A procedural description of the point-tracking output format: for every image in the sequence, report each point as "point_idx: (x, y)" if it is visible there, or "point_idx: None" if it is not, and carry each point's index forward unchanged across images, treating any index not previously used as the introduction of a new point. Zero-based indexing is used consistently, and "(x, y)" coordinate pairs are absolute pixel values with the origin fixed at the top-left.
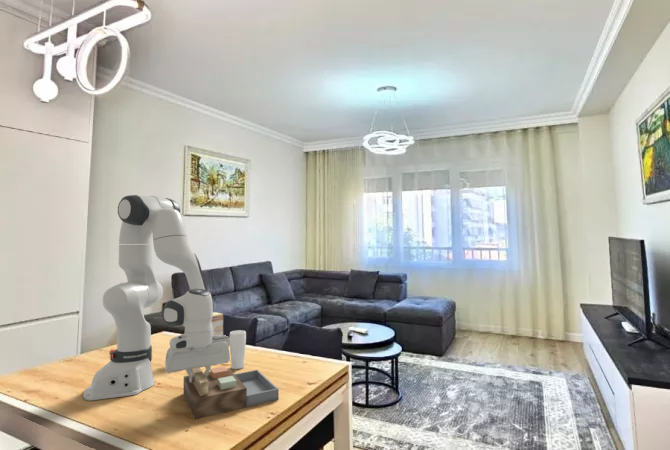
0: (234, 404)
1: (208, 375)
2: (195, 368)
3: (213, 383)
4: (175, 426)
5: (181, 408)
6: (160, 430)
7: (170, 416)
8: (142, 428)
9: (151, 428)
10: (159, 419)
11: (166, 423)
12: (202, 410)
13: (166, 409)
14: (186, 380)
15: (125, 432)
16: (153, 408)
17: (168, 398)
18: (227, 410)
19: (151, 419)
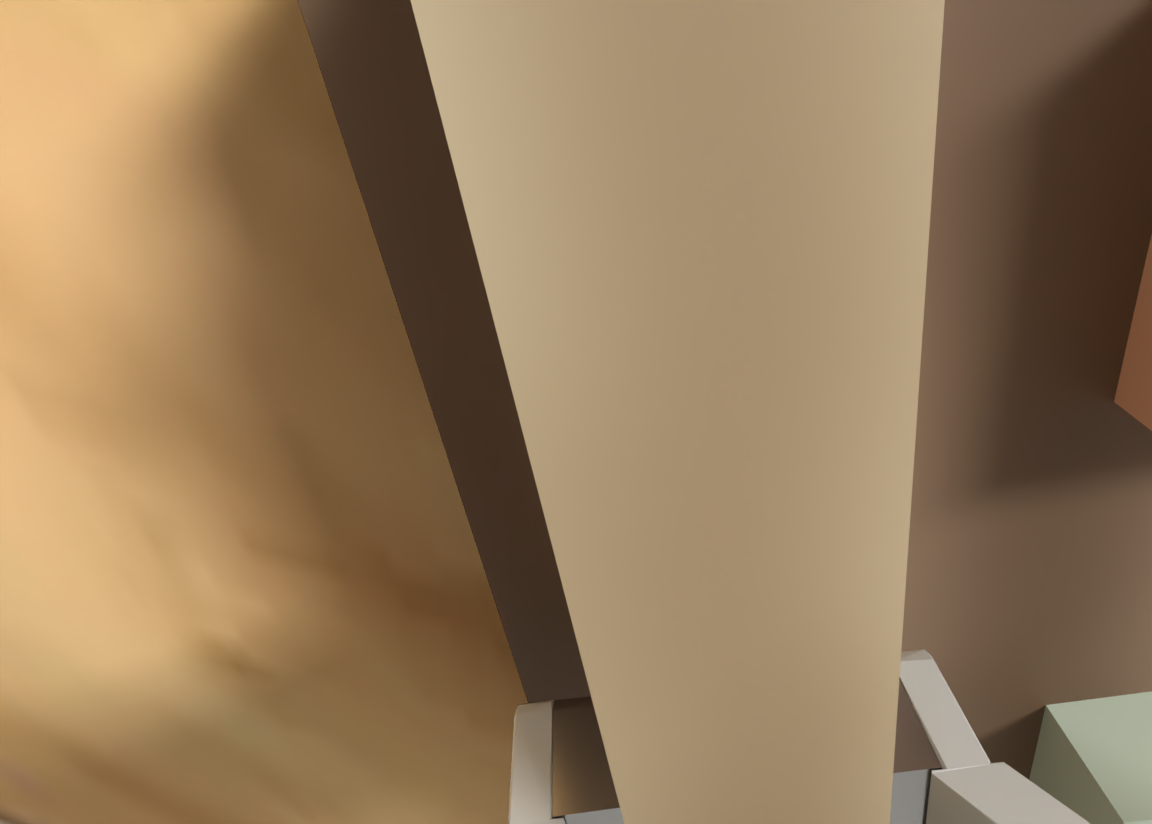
0: None
1: (1119, 35)
2: (720, 626)
3: (1004, 642)
4: (441, 794)
5: (440, 491)
6: (324, 814)
7: (347, 634)
8: (139, 757)
9: (228, 774)
10: (242, 659)
11: (344, 738)
12: None
13: (238, 459)
14: (407, 262)
15: (8, 775)
16: (21, 371)
17: (108, 15)
18: None
19: (148, 638)
